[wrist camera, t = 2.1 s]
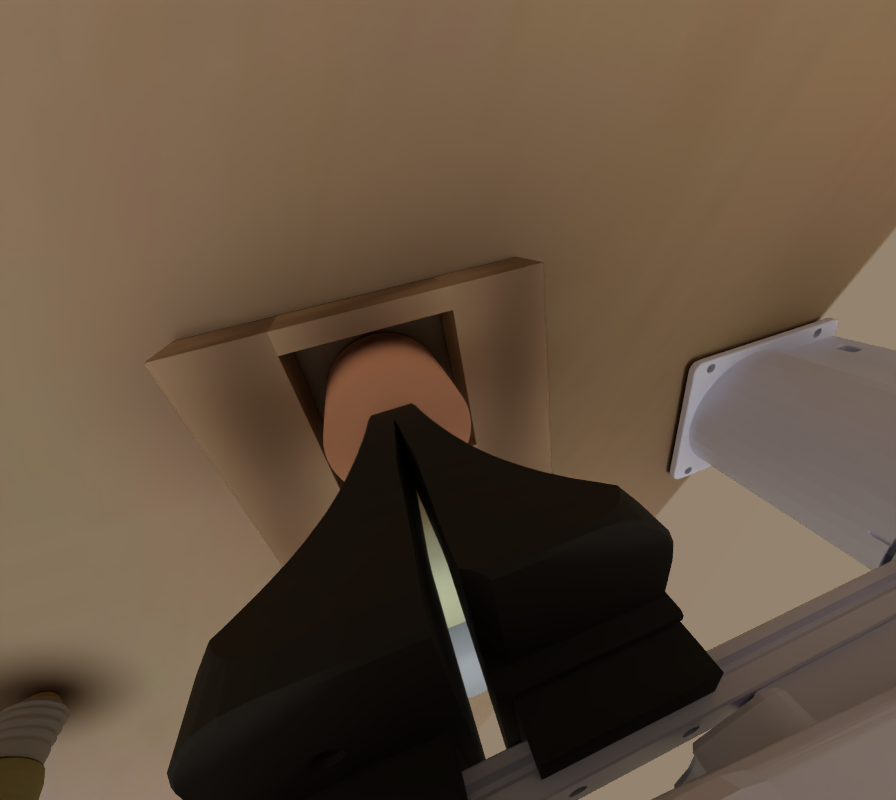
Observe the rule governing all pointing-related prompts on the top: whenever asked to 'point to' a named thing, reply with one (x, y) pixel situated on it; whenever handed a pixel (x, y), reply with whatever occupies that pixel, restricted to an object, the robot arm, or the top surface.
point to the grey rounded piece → (467, 660)
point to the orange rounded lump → (385, 393)
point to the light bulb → (28, 743)
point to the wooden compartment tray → (297, 417)
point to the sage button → (441, 574)
